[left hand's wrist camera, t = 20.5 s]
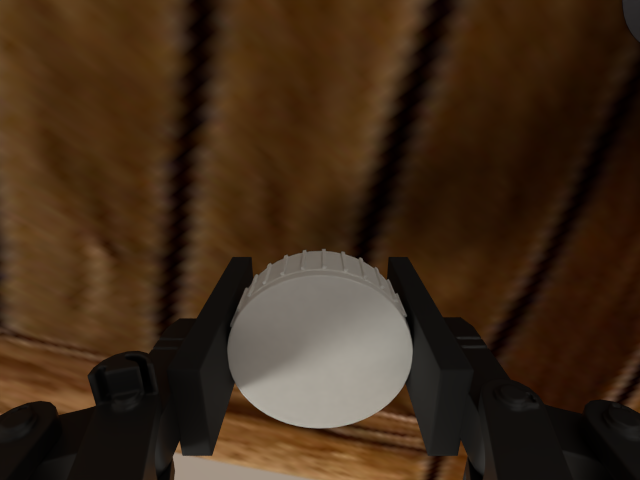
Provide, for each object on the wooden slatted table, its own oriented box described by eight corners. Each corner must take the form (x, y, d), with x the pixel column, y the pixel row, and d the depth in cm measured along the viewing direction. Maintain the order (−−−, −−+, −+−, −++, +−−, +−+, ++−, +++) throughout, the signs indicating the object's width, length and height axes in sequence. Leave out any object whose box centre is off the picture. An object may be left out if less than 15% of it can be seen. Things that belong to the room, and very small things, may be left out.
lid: (318, 412, 14) (318, 456, 12) (203, 322, 12) (184, 357, 10) (435, 325, 12) (455, 361, 10) (321, 212, 11) (321, 231, 9)
